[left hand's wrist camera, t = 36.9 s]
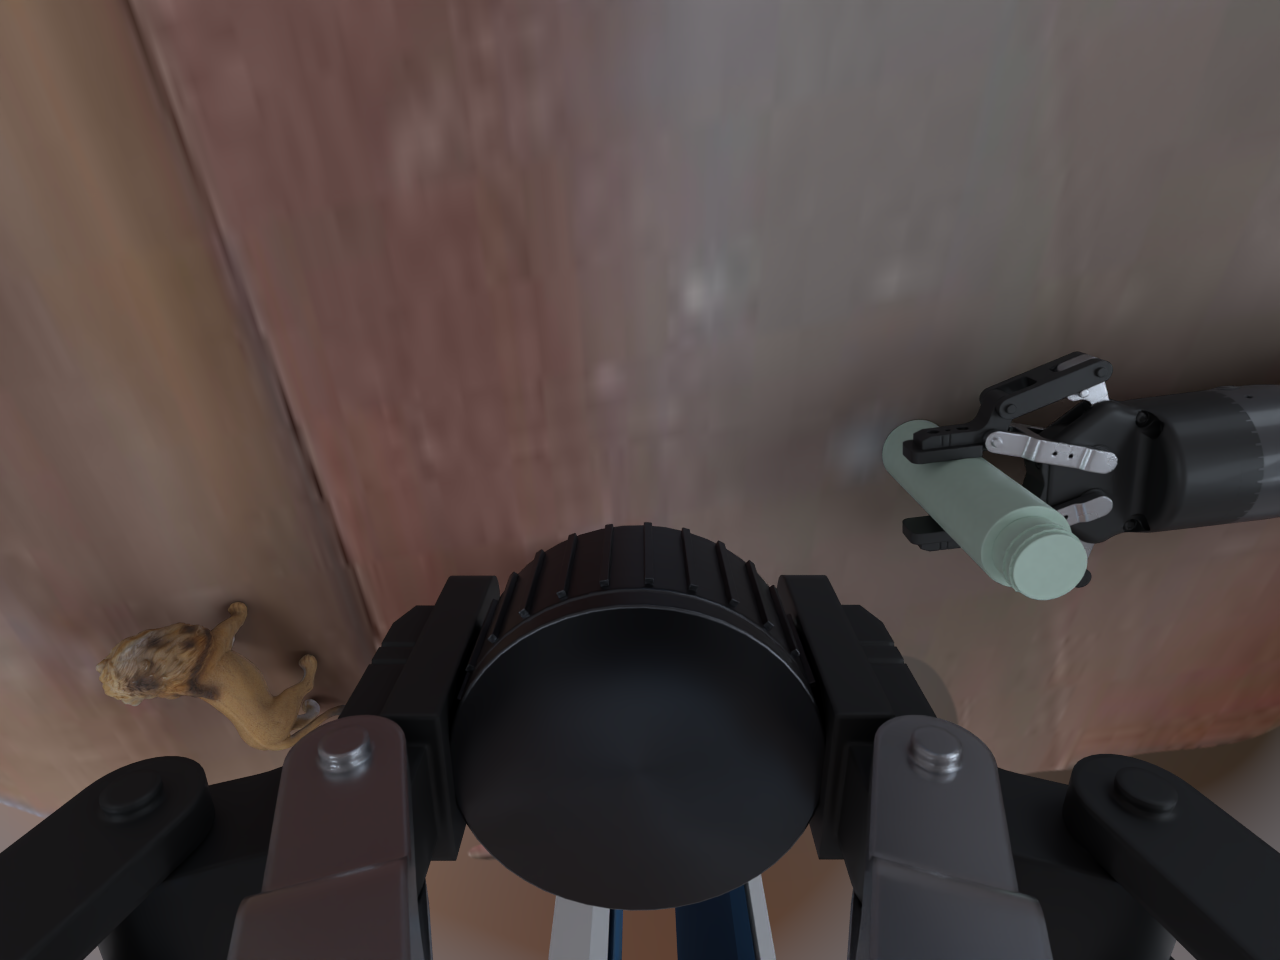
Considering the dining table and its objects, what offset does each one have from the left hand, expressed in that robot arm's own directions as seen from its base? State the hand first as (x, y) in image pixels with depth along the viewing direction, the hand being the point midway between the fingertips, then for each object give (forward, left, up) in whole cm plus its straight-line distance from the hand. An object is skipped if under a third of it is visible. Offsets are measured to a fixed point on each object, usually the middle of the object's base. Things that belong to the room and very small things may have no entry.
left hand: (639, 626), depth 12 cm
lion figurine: (+36, +4, -35) cm, 50 cm away
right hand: (-7, +16, -28) cm, 33 cm away
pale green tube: (-10, +17, -35) cm, 40 cm away
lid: (0, 0, +3) cm, 3 cm away
